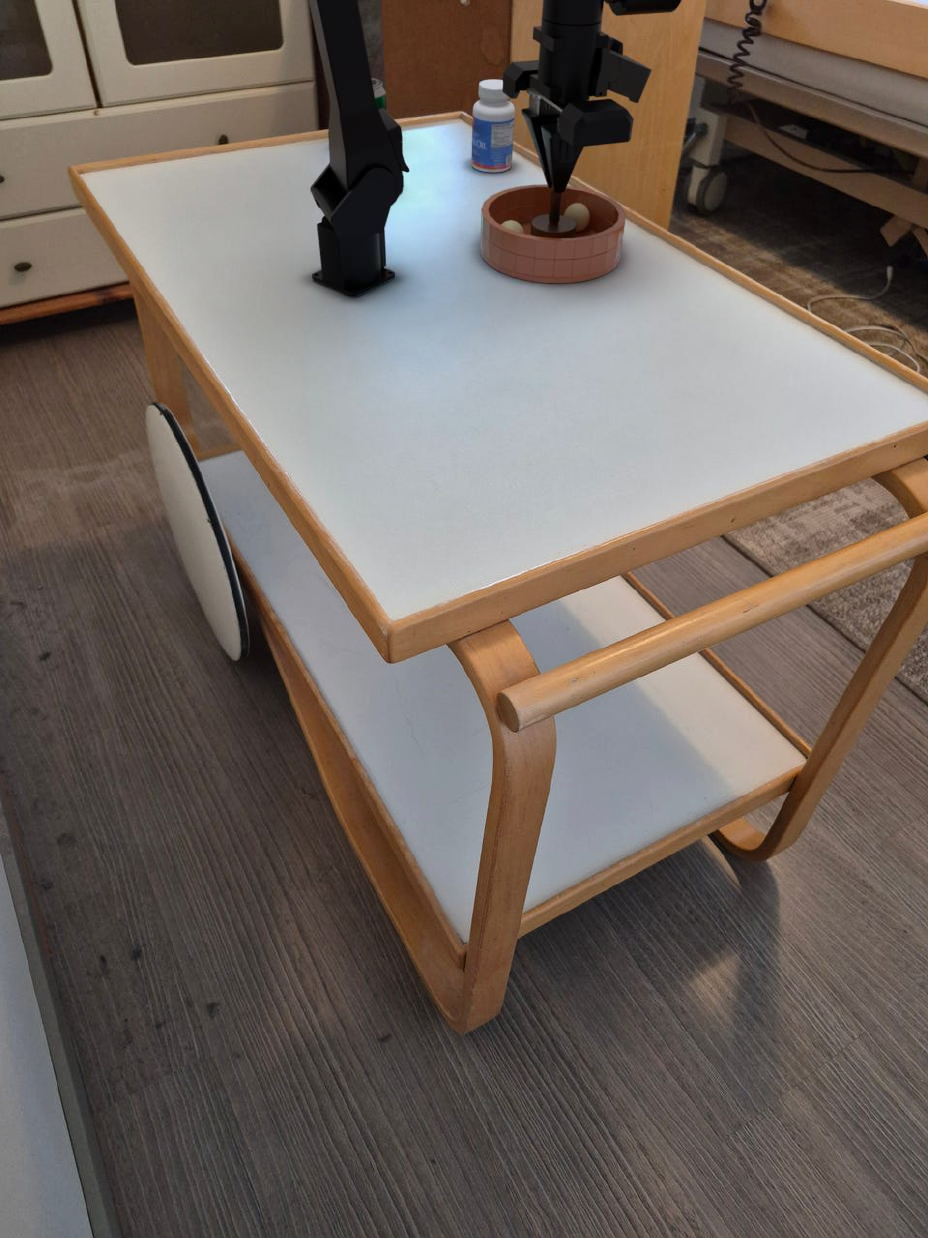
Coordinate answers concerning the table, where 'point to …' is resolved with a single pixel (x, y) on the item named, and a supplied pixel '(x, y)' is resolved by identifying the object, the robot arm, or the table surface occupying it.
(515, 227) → the dumpling
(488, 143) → the pill bottle
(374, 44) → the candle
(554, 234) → the brown peg stand
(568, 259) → the bowl
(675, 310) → the table surface
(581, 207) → the dumpling
